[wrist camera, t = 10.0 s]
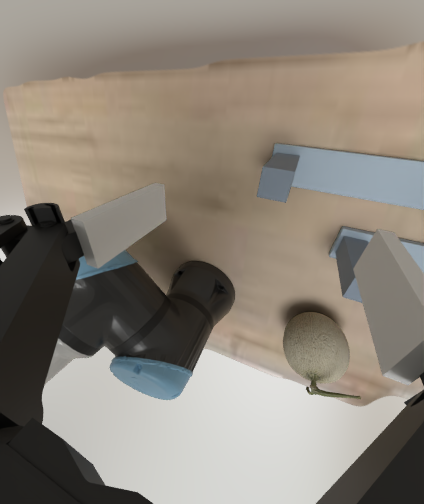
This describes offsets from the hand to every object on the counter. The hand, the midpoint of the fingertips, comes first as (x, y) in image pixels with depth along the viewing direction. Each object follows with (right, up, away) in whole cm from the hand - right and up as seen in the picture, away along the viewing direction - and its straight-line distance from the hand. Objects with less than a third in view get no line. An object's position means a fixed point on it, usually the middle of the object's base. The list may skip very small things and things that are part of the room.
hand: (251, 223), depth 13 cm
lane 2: (+22, -2, +17) cm, 28 cm away
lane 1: (+20, +7, +12) cm, 24 cm away
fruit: (+18, -16, +28) cm, 37 cm away
